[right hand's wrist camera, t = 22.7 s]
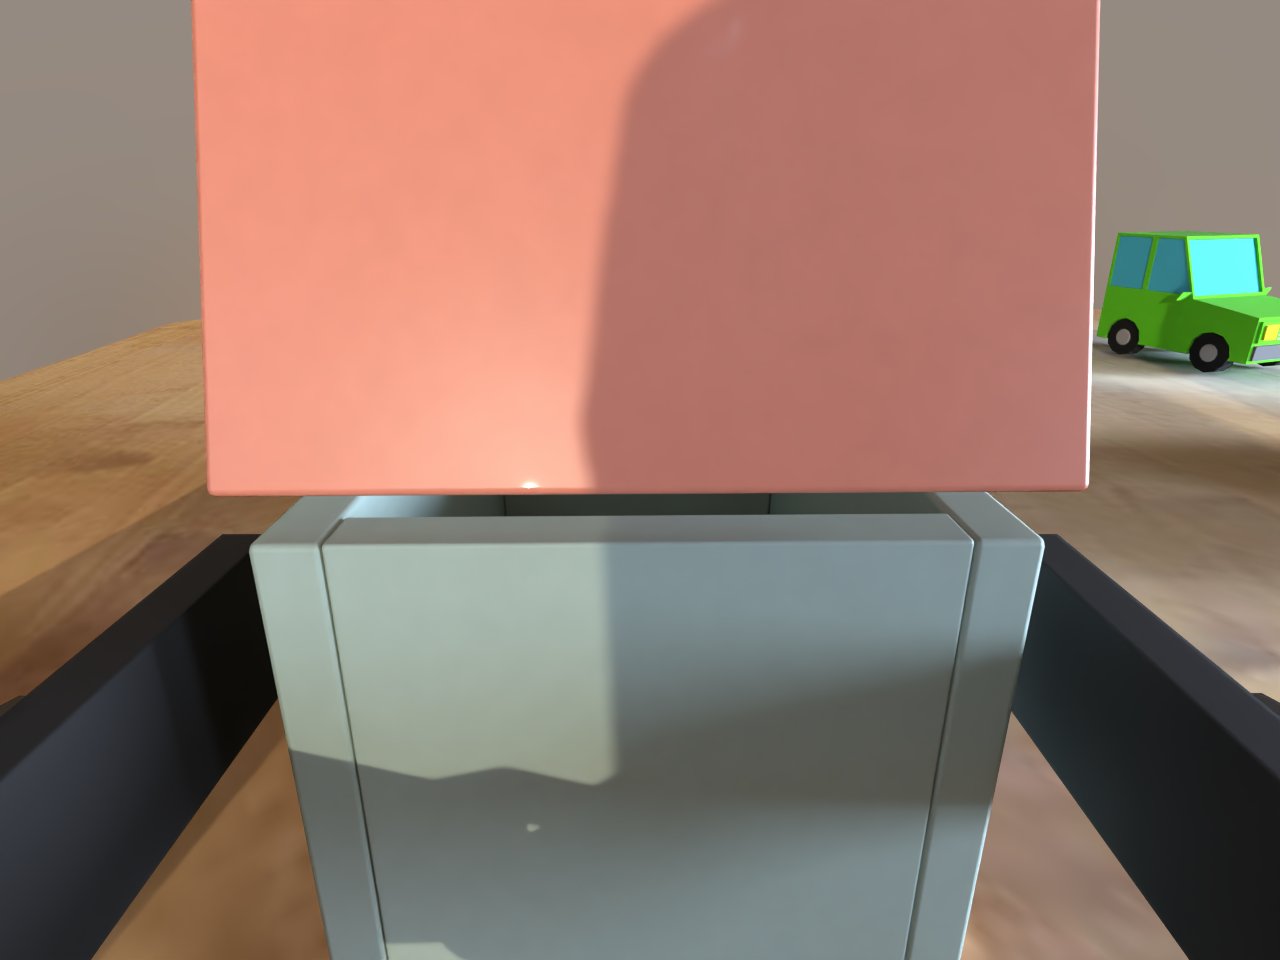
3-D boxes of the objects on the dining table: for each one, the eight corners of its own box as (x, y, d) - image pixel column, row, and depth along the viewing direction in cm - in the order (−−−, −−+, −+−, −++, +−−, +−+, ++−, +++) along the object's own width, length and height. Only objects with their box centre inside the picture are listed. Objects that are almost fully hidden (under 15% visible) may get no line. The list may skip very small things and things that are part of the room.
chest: (490, 635, 25) (466, 340, 22) (783, 632, 25) (805, 339, 22) (351, 1082, 12) (244, 546, 9) (939, 1072, 13) (1049, 540, 9)
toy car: (1235, 382, 57) (1274, 241, 53) (1084, 350, 69) (1109, 232, 65) (1327, 372, 60) (1370, 239, 57) (1168, 343, 72) (1195, 231, 68)
